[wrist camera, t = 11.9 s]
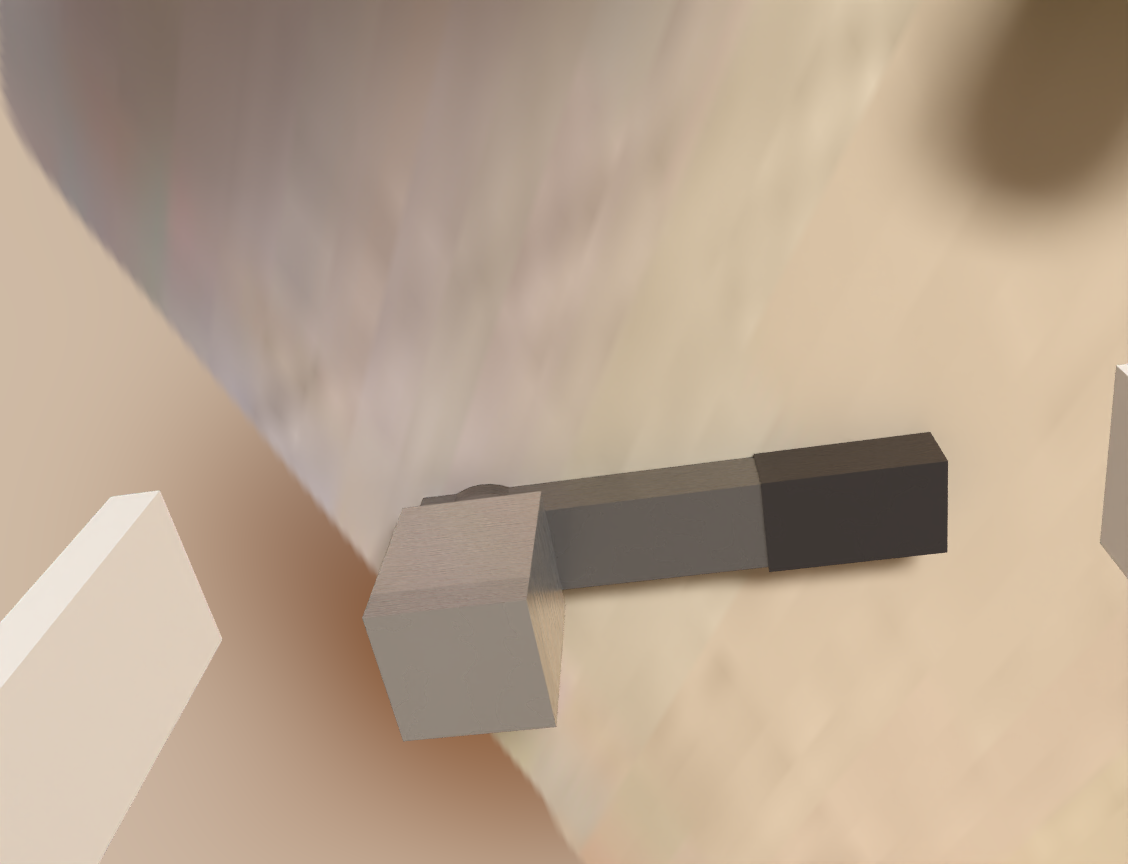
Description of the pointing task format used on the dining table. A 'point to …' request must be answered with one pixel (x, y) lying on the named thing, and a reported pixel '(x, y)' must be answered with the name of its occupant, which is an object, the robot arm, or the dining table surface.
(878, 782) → the dining table surface
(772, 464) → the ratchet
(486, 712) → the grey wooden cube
